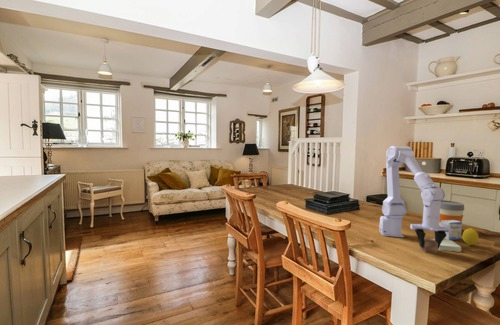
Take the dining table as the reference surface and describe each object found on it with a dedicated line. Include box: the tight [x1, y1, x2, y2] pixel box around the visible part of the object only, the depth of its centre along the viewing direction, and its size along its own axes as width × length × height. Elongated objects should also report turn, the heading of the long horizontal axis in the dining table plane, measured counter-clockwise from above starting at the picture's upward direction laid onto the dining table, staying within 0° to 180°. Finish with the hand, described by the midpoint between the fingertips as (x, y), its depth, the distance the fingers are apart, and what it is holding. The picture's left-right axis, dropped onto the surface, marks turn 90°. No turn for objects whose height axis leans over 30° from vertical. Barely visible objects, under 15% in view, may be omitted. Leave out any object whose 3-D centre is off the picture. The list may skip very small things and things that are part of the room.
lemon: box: [461, 227, 480, 247], centre depth 115 cm, size 6×6×8 cm
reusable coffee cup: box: [439, 199, 465, 226], centre depth 136 cm, size 12×13×15 cm
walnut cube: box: [420, 237, 439, 254], centre depth 109 cm, size 4×4×4 cm
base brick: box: [432, 238, 462, 253], centre depth 113 cm, size 8×8×2 cm
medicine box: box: [441, 220, 463, 241], centre depth 124 cm, size 8×4×9 cm, turn 105°
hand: (428, 247), depth 109 cm, fingers open, 5 cm apart
